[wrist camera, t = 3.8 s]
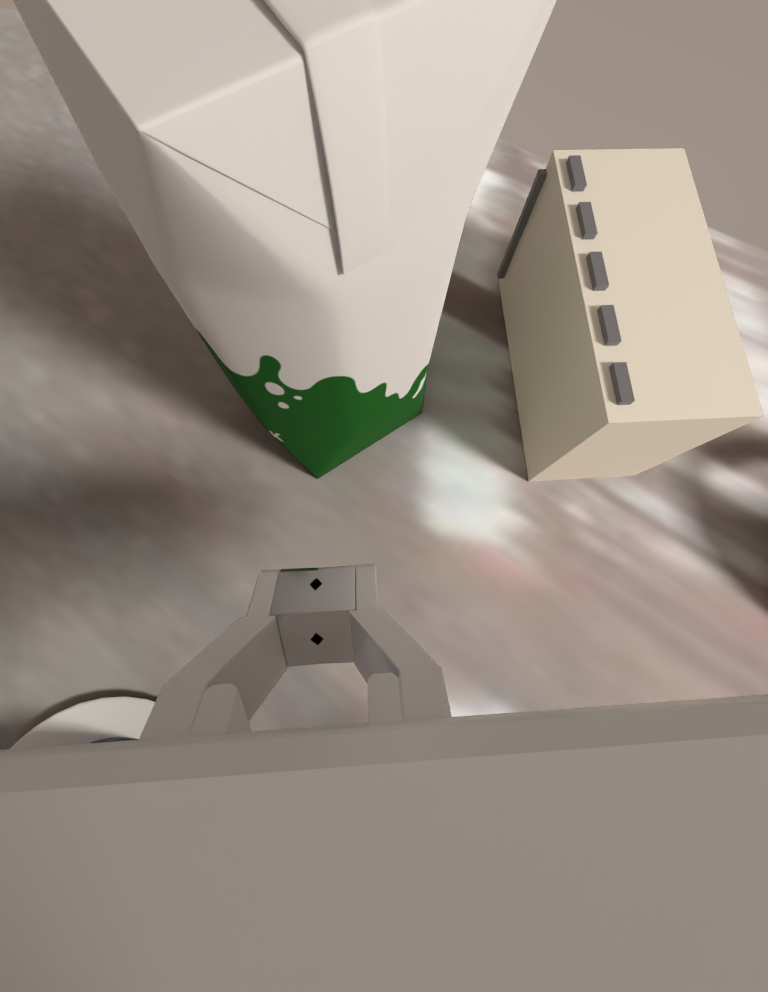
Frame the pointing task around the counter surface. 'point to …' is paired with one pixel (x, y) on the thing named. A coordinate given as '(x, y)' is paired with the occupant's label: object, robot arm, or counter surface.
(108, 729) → the pudding
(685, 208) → the block
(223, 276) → the soya milk
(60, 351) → the counter surface
